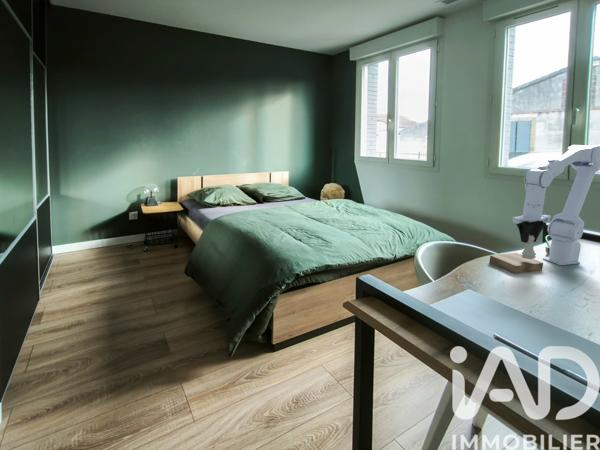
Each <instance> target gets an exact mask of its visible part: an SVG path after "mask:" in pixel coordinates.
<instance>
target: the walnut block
mask: <svg viewBox="0 0 600 450" xmlns="http://www.w3.org/2000/svg"><path fill="white" fill-rule="evenodd" d="M522 255H523V254H522V253H521V254H520V253H517V252H511V253H501V254H492V255H491V254H490V256H489V264H491V265H493V266H495V267H496V268H497V267H498V268H500V269H502V270H505V271H507V272H508V273H509V272H510V273H511V274H514V275H518V274H524V273H525V274H528V273H532V272H533V273H535V272H542V271H543V267H544V262H543V261H539V260H537V259H535V258H534V259H526V258H523V257H522Z"/></svg>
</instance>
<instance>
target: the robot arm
mask: <svg viewBox="0 0 600 450" xmlns="http://www.w3.org/2000/svg"><path fill="white" fill-rule="evenodd" d="M567 166H571V168H572V169H574V170H576V175H575V178H574V181H573V183H572V186H571V189H570V190H569V194H568V197H567V199H566V202H565V203H564V207H563V209H562V212H560V213H557V214H555V215H553V217H552V220H551V216H552V215H549V214H543V212H544V211H543V210H544V204H545V199H546V192H547V188H548V187H550V185H551V184H552V182H553V181H554V178H556V177H558V176H559V175H561V174H562V173H563V172H564V171H565V168H566V167H567ZM598 171H600V144H598V145H593V144H592V145H590V144H589V145H586V144H585V145H583V144H571V145H570V146H568V147H567V149H566V152H565V153H564V154H562V155H560V156H559V158H549V159H548V160H547V162H545V163H543V164H542V165H539V166H538V167H537V168H536V169H535V168H532V169H530V170H528V171H527V172H526V173H525V175H524V177H523V183H524V190H525V197H524V204H523V210H522V211H523V212H522V214H521V215H519V216H512V223H513V224H515V225H516V227H517V229H518V231H519V235H520V242H521V243H524V244H525V243H527V242H528V239H529V236H530V235H532V236H534V238H535V239H534V240H533V242H534V243H536V242H537V240H538V238H539V235H540V234H541V232H542V231H543V229H544V228H545V227H547V233H548V235H549V238H551V242H550V247H549V253H548V254H549V255H548V256H544V257H542V260H545V261H548V262H550V263H553V264H556V265H559V266H570V265H577V264H580V263H581V262H580V261H579V259H580V253H581V243H580V241H579V240H580V239H581V238H582V236H583V234H584V227H585V222H584V221H583V219H582V218H581V217H580V216H579V215H580V213H581V210H582V207H583V205H584V203H585V200H586V197H587V195H588V192H589V190H590V187H591V184H592V182H593V181H594V180H593V179H594V177H595V174H596V172H598ZM547 222H549V224H548V225H547Z"/></svg>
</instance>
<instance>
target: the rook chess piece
mask: <svg viewBox="0 0 600 450" xmlns="http://www.w3.org/2000/svg"><path fill="white" fill-rule="evenodd" d="M529 235H530V234H529ZM534 239H535V238H534V236H532V235H530V236H529V239H528V242H527V243H525V242H524V244H525V245H524V249H523V251H522V252H521V255H522V257H523V258H526V259H534V260H535V259H536V255H537V253H536V252H535V249H534V243H535V242H533V240H534Z"/></svg>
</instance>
